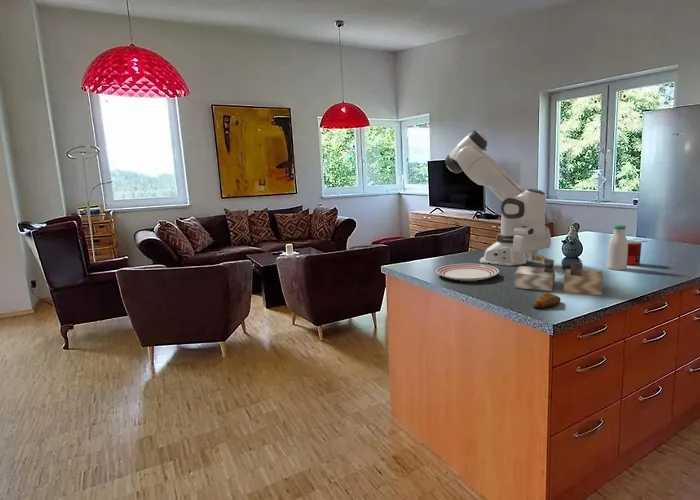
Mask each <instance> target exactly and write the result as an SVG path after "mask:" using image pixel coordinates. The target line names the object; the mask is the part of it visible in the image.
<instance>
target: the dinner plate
mask: <svg viewBox="0 0 700 500" xmlns="http://www.w3.org/2000/svg"><path fill="white" fill-rule="evenodd" d="M435 272H436V274H438V275H440V276H441V277H444V278H446V279H449V280H452V279H453V280H452V281H457V280H460V281H459V282H479V281H478V280H481V281H484V279H485V280H487V279H491V278H493V277H495V276H497V275H498V274H499V273H500V270H499V269H498V267H496V266H492V265H489V264H483V263H482V264H481V263H453V264H448V265H442V266H440V267H438V268H437V269H436V270H435Z"/></svg>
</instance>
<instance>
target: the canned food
mask: <svg viewBox="0 0 700 500" xmlns="http://www.w3.org/2000/svg"><path fill="white" fill-rule="evenodd" d="M627 241H628V255H627V267H628V266H629V267H630V266H631V267H635V266H640V263H641V256H642V255H641V253H642V241H641V240H632V239H627Z"/></svg>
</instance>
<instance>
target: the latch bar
mask: <svg viewBox="0 0 700 500" xmlns="http://www.w3.org/2000/svg"><path fill="white" fill-rule="evenodd" d="M535 261H536V262H538V263H541V264H542V265H543V266H546V267H553V268H554V266H555V260H554V259H551V258H548V257H546V256H544V255H542V254H541V253H537V255H536V260H535Z"/></svg>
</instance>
